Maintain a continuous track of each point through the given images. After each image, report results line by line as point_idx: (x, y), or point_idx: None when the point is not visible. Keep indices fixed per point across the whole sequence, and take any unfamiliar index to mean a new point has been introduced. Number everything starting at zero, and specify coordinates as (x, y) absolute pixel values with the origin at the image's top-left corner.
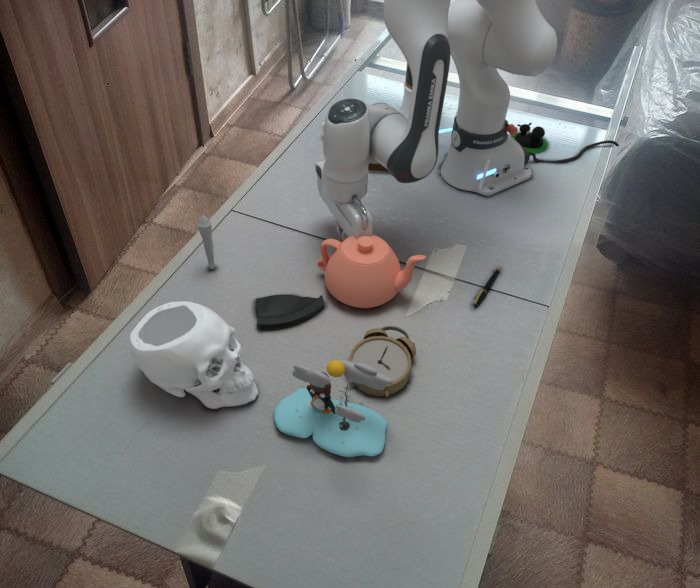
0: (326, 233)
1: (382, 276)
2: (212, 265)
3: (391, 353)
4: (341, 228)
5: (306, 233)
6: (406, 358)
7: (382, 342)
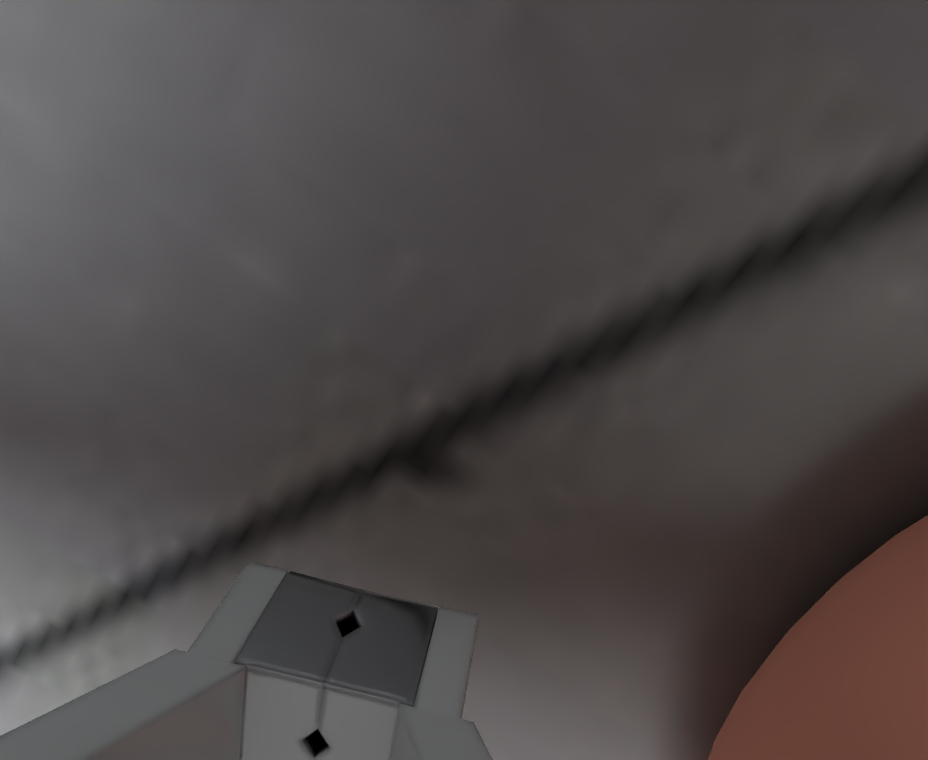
0: (85, 501)
1: None
2: None
3: None
4: (242, 740)
5: (17, 649)
6: None
7: None
